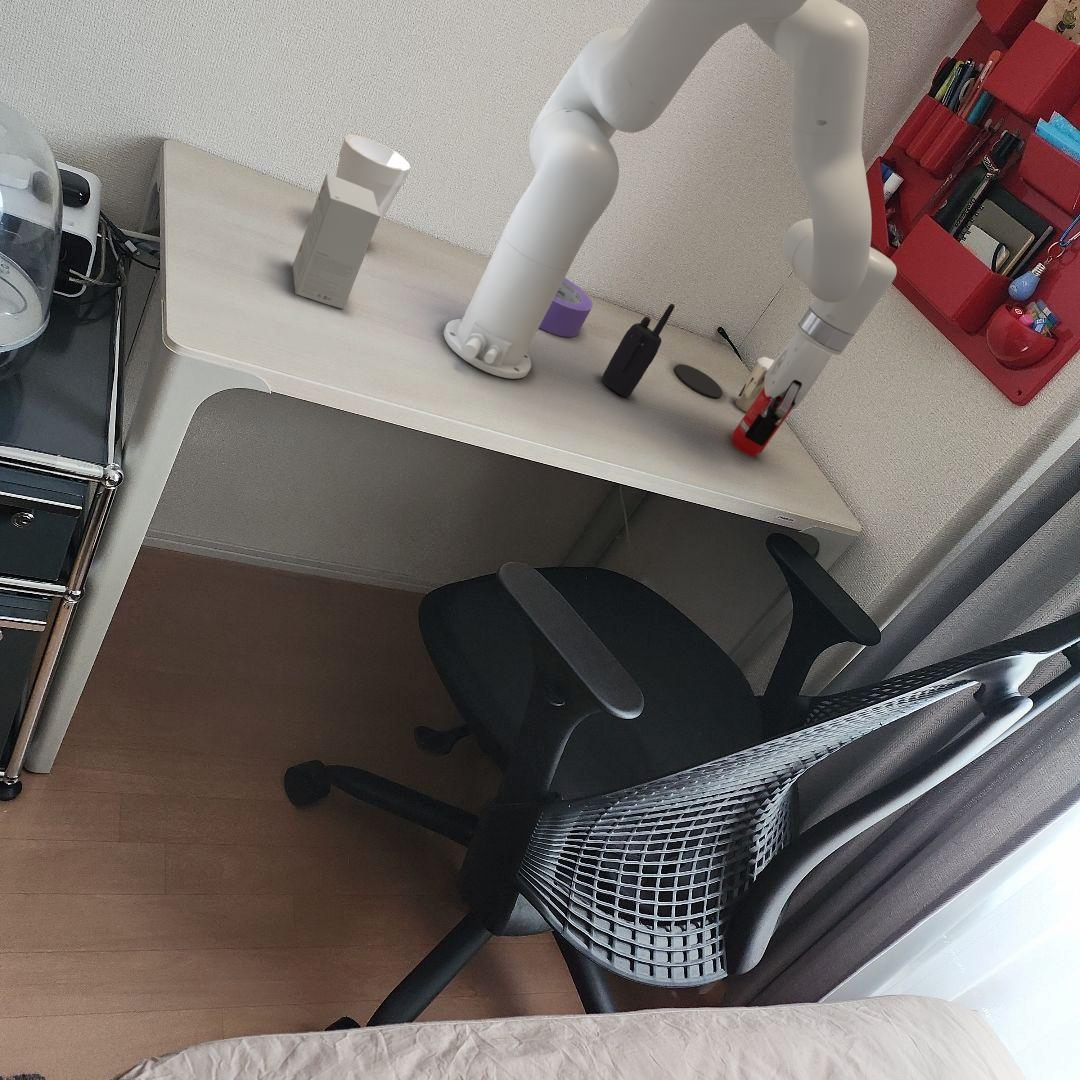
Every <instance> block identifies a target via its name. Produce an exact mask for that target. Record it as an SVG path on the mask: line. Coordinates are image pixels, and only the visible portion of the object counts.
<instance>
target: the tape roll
mask: <svg viewBox="0 0 1080 1080" xmlns="http://www.w3.org/2000/svg"><path fill="white" fill-rule="evenodd" d="M593 306H594V305H593V301H592V299H591V298H590V296H589V295H588V294H587V293H586V292H585V291H584V290H583V289H582V288H581V287H579V285H577V284H576V283H574V282H572V281H571V280H570V279H568V278H566V277H565V278H564V280H563V282H562V284H561V286H560V288H559V290H558V292H557V293H556V295H555V297H554V299H553V301H552V303H551V305H550V307H549V309H548V311H547V313H546V315H545V317H544V318H543V320H542V322H541V324H540V326H539V328H538V329H541V330H542V331H545V332H547V333H549V334H552V335H555V336H559V337H564V338H573V337H576V336H577V335H578V334H579V333H580V331H581V329H582V327H583V325H584V323H585V322H586V320H587V318H588V316H589V314H590V312H591V311H592V309H593Z"/></svg>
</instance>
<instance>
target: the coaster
mask: <svg viewBox="0 0 1080 1080" xmlns="http://www.w3.org/2000/svg"><path fill="white" fill-rule="evenodd" d="M673 372H674V374H675V376H676V377H677V378H678V379H679V380H680V382H682V383H683V384H684V385H685V386H687V387H688V388H689V389H691V390H692V391H694V392H696V393H698V394H699V395H702V396H704V397H707V398H711V399H714V400H715V399H720V398H722V396H723V395H724V393H723V390H722V388H721V386H720V385H719V384H718V383H717V382H716V381H715V380H714V379H713V378H712V377H710V376H709V375H707V374H706V373H705V372H703V371H701V370H700V369H698V368H695V367H694V366H691V365H687V364H682V363H678V364H676V365H675V366H674V368H673Z"/></svg>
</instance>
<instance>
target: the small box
mask: <svg viewBox="0 0 1080 1080" xmlns="http://www.w3.org/2000/svg"><path fill="white" fill-rule="evenodd" d="M317 195H318V196H317V197H316V201H315V204H314V205H313V209H312V212H311V214H310V217H309V220H308V222H307V226H306V228H305V231H304V234H303V236H302V239H301V242H300V243H299V244H300V245H299V247H298V250H297V254H296V255H295V258H294V261H293V263H292V273H293V284H294V292H295V295H298V296H301V297H304V298H307V299H310V300H312V301H316V302H319V303H322V304H325V305H329V306H332V307H334V308H338V309H342V310H344V309H345V306H346V304H347V301H348V299H349V297H350V294H351V291H352V289H353V286H354V283H355V281H356V278H357V276H358V273H359V271H360V269H361V266H362V263H363V261H364V258H365V256H366V254H367V251H368V249H369V246H370V244H371V242H372V238H373V237H374V235H373V233H374V231H375V228H376V226H377V223H378V221H379V219H380V214H379V210H378V207H377V203H376V199H375V195H374V192H373V191H371V190H368V189H366V188H363V187H361V186H358V185H356V184H353V183H351V182H348V181H346V180H343V179H341V178H338V177H336V175H333V174H331V173H326V174H325V176H324V179H323V182H322V184H321V187H320V189H319V193H318V194H317ZM375 232H376V231H375ZM374 234H375V233H374Z"/></svg>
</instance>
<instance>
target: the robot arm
mask: <svg viewBox="0 0 1080 1080" xmlns="http://www.w3.org/2000/svg"><path fill="white" fill-rule="evenodd" d="M743 24H746V25H747V27H749V28H750V30H752V31H753V33H754V34H756V36H757V37H758V38H759V39H760V40H761V41H762V42H763V44H765V45H766V46H767V47H768V48H769V49H770V50H771V51H773V52H774V53H775V55H777V56H778V57H779V58H780V59H781V60H783V62H784V63H786V65H789V67H791V68H792V73H793V74H792V101H791V102H792V106H791V126H790V127H791V128H790V153H791V158H792V161H793V165H794V168H795V171H796V174H797V177H798V179H799V181H800V183H801V185H802V188H803V190H804V193H805V195H806V199H807V201H808V206H809V211H810V215H811V216H810V217H811V218H804V219H801V220H799V221H797V222H794V224H792V225H790V227H789V228H788V229H787V230H786V232H785V234H784V236H783V239H782V243H781V244H782V245H781V249H782V255H783V259H784V261H785V262H786V265H788V268H789V269H790V270H791V271H792V272H793V273H794V274H795V276H796V278H798V279H799V280H800V281H801V282H802V283H803V284H804V286H805V287H806V288H807V290H808V291H809V292H810V293H811V294H812V295H813V296H814V298H813V299H812V301H811V302H810V304H809V305H808V307H807V308H806V309H805V311H804V312H803V314H802V315H801V317H800V319H799V320H798V321H797V323H796V325H795V328H796V329H797V330H796V332H795V333H794V334H793V336H792V337H791V338H790V339H789V341H788V342H787V344H786V345H785V346H784V347H783V348H782V350H781V351H780V353H779V354H778V355H777V357H776V358H775V361H774V362H773V364H772V365H771V367H770V368H769V369H768V371H767V372H766V374H765V381H764V386H765V395H766V397H771V399H770V401H769V402H768V404H767V406H766V407H765V409H764V411H763V412H762V414H758V416H757V417H756V419H755V420H754V422H753V423H752V425H751V426H750V427H749V429H748V430H747V432H746V433H745V437H746V438H748V439H750V440H751V441H753V442H755V443H757V444H759V445H760V446H764V445H765V443H766V442H767V440H768V439H769V438H770V436H771V435H772V433H773V432H774V430H775V429H776V428H777V426H778V425H779V423H780V422H781V420H782V418H783V417H784V415H785V414H786V413H787V411H788V409H790V410H791V411H792V410H795V409H797V408H798V406H799V405H800V404H801V403H802V401H803V400H804V399H805V397H806V396H807V394H809V392H810V390H811V389H812V387H813V386H814V384H815V383H816V381H817V380H818V378H819V377H820V375H822V374H821V373H822V372H823V370H825V368H826V367H827V365H828V363H829V361H830V360H831V358H832V356H833V355H842V353H843V352H844V351H845V349H846V348H847V346H848V345H849V344H850V342H851V341H852V339H853V338H854V337H855V335H856V334H857V332H858V331H859V329H860V328H861V326H862V325H863V324H864V322H865V321H866V320H867V318H868V317H869V316H870V314H871V313H872V311H873V310H874V308H875V307H876V305H877V304H878V303H879V301H880V300H881V299H882V297H883V295H884V294H885V293H886V292H887V290H888V289H889V287H890V286H891V285H892V283H893V282H894V280H895V279H896V276H897V273H898V272H897V271H898V269H897V265H896V264H895V263H894V261H892V259H890V258H889V257H887V256H886V255H885V254H883V253H882V252H880V251H879V250H877V249H875V248H874V247H871V243H872V242H871V241H872V227H873V225H872V222H873V221H872V218H873V217H872V207H871V199H870V192H869V187H868V180H867V172H866V171H867V170H866V165H865V161H864V156H863V149H862V145H863V143H862V142H863V127H864V113H865V102H866V91H867V80H868V79H867V78H868V68H869V56H870V55H869V53H870V34H869V30H868V26H867V24H866V22H865V20H864V19H863V17H862V16H860V15H859V14H858V13H857V12H856V11H854V10H853V9H852V8H850V7H849V6H846V5H845V4H843V3H841V2H839V1H837V0H649V2H647V4H646V5H645V6H644V8H643V10H642V11H641V12H640V13H639V15H638V16H637V18H636V19H635V20H634V21H633V23H632V24H631V25H630V27H625V26H624V27H623V26H622V27H621V26H619V27H612V28H608V29H606V30H604V31H602V32H601V33H598V34H597V35H596V36H594V37H593V38H591V40H590V41H588V43H587V44H586V45H585V46H584V47H583V48H582V49H581V51H580V52H579V53H578V55H577V56H576V58H575V59H574V60H573V62H572V63H571V65H570V67H569V68H568V69H567V71H566V73H565V74H564V75H563V77H562V78H561V80H560V81H559V83H558V84H557V86H556V88H555V90H553V92H552V93H551V95H550V97H549V98H548V99H547V101H546V103H545V104H544V106H543V107H542V108H541V110H540V112H539V113H538V115H537V117H536V119H535V121H534V122H533V125H532V126H531V130H530V133H529V138H528V153H529V156H530V160H531V163H532V166H533V167H534V170H535V174H534V175H533V177H532V178H533V179H532V180H531V182H530V184H529V186H527V188H526V190H525V191H524V193H523V194H522V196H521V197H520V198H519V200H518V202H517V203H516V206H515V207H514V208H513V211H512V213H511V215H510V216H509V218H508V220H507V223H506V224H505V226H504V229H503V231H502V234H501V235H500V238H499V240H498V242H497V245H496V247H495V249H494V251H493V253H492V255H491V258H490V259H489V262H488V264H487V266H486V268H485V270H484V272H483V274H482V277H481V279H480V281H479V283H478V285H477V287H476V290H475V292H474V294H473V295H472V298H471V300H470V302H469V304H468V305H467V309H466V311H465V313H464V315H463V317H462V318H456V319H452V320H449V321H448V323H446V325H445V328H444V329H443V338H444V340H445V342H446V343H447V345H448V346H449V348H450V349H451V350H452V351H453V352H454V353H455V354H456V355H458V356H459V357H460V358H461V359H462V360H464V361H465V362H467V364H470V365H471V366H473V367H474V368H477V369H479V370H481V371H483V372H485V373H488V374H490V375H493V376H496V377H499V378H503V379H511V380H512V379H513V380H515V379H517V380H518V379H522V378H525V377H526V376H528V374H529V372H530V371H531V368H532V361H531V358H530V356H529V355H528V353H527V351H528V349H529V347H530V345H531V344H532V342H533V339H535V336H536V334H537V332H538V330H539V329H540V328H539V326H540V324H541V322H542V320H543V318H544V317H545V315H546V313H547V311H548V309H549V307H550V305H551V303H552V301H553V299H554V297H555V295H556V293H557V292H558V290H559V288H560V286H561V284H562V282H563V280H564V278H566V276H567V275H568V272H569V271H570V269H571V266H572V264H573V262H574V260H575V258H576V256H577V255H578V252H579V251H580V249H581V247H582V245H583V244H584V242H585V240H586V238H587V237H588V235H589V234H590V232H591V230H592V229H593V227H594V226H595V225H596V223H597V222H598V221H599V219H600V218H601V216H602V215H603V214H604V212H605V211H606V209H608V206H609V205H610V203H611V201H612V200H613V199H614V196H615V193H616V190H617V187H618V183H619V178H620V166H619V165H620V164H619V160H618V156H617V153H616V151H615V148H614V146H613V144H612V143H611V141H610V139H611V138H612V137H613V136H614V134H615V133H616V131H617V130H618V131H619V132H623V133H628V134H633V133H634V134H635V133H639V132H641V131H644V130H646V129H648V128H649V127H651V126H652V125H653V124H654V123H655V122H656V121H657V120H658V119H659V118H660V117H661V116H662V114H663V113H664V111H665V110H666V109H667V107H668V106H669V105H670V103H671V102H672V101H673V99H674V97H675V96H676V94H677V93H678V92H679V91H680V89H681V88H682V86H683V85H684V84H685V82H686V81H687V79H688V78H689V76H690V75H691V74H692V72H693V71H694V70H695V68H696V67H697V65H698V64H699V62H700V61H701V60H702V59H703V58H704V56H705V55H707V53H708V51H709V50H710V49H711V48H712V47H713V46H714V45H715V44H716V43H717V41H718V40H720V38H722V37H723V36H724V35H725V34H727V33H728V32H730V31H731V30H733V29H735V28H737V27H739V26H741V25H743ZM777 396H779V397H781V398H782V400H781V402H780V401H778V400H776V397H777ZM794 399H795V400H794ZM793 400H794V402H793ZM774 403H775V404H777V405H778V406H777V408H776V407H773V408H771V407H772V406H773V404H774ZM770 409H771V410H770Z"/></svg>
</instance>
